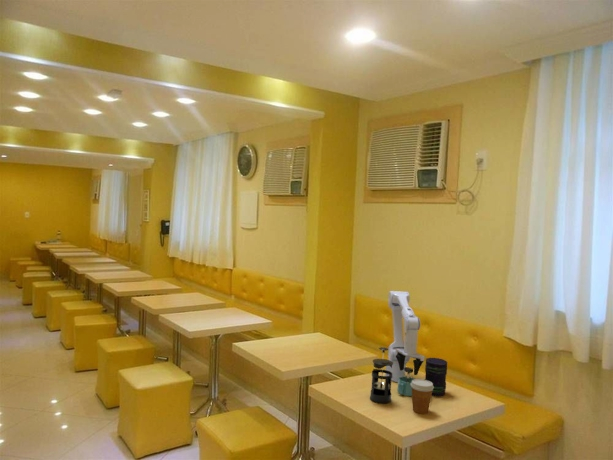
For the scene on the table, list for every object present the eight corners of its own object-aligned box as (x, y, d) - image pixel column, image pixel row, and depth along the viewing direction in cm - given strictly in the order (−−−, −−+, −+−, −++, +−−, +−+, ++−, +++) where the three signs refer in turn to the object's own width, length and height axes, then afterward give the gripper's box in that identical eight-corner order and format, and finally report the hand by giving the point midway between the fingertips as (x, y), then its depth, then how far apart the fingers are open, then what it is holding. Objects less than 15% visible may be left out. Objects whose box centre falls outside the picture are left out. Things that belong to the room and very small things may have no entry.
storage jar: (443, 389, 219) (445, 358, 219) (447, 397, 209) (449, 365, 209) (422, 387, 220) (424, 356, 220) (425, 395, 210) (427, 363, 210)
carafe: (392, 392, 211) (392, 379, 211) (404, 387, 218) (405, 375, 218) (407, 398, 205) (408, 385, 205) (420, 393, 212) (421, 380, 212)
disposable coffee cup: (415, 404, 199) (416, 376, 199) (435, 411, 193) (437, 382, 193) (404, 410, 192) (406, 382, 192) (426, 417, 186) (428, 388, 186)
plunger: (397, 385, 212) (399, 368, 212) (405, 382, 217) (406, 365, 217) (409, 389, 208) (410, 371, 208) (417, 386, 212) (418, 369, 212)
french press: (396, 403, 199) (399, 350, 198) (377, 405, 196) (380, 352, 195) (382, 393, 210) (385, 343, 209) (364, 395, 206) (367, 344, 206)
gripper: (392, 340, 214) (390, 369, 215) (419, 348, 204) (417, 378, 204) (401, 338, 219) (399, 366, 220) (427, 345, 209) (425, 375, 209)
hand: (408, 372), depth 212 cm, fingers open, 7 cm apart
